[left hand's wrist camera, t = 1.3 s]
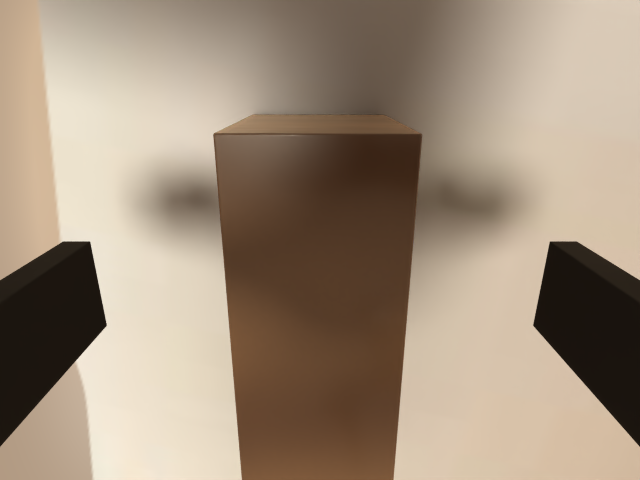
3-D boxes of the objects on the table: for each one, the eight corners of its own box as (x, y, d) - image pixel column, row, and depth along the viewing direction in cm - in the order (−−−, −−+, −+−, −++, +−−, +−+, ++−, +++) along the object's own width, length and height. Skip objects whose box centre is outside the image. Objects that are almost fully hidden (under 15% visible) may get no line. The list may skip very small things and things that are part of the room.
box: (252, 114, 23) (212, 133, 14) (385, 114, 23) (422, 133, 14) (269, 452, 31) (250, 588, 23) (367, 453, 31) (384, 589, 23)
